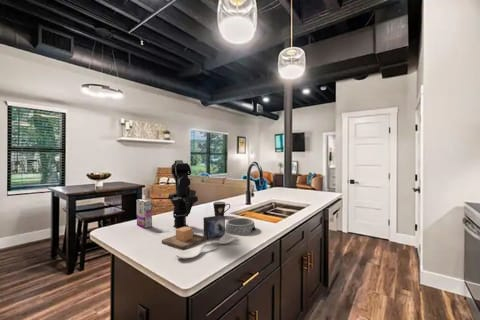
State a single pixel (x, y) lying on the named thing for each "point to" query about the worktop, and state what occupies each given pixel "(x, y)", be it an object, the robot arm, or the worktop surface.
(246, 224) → the dog bowl
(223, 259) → the worktop surface
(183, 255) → the spoon
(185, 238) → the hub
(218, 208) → the coffee mug
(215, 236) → the small box
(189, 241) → the base plate
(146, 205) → the candy bar box
